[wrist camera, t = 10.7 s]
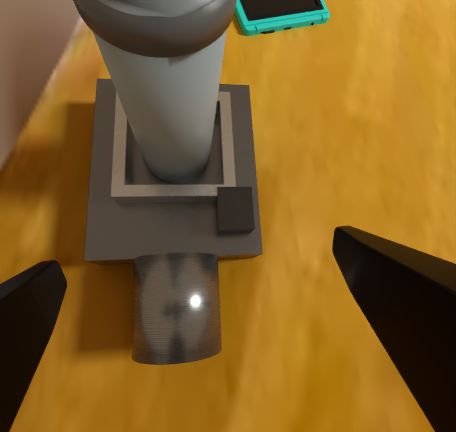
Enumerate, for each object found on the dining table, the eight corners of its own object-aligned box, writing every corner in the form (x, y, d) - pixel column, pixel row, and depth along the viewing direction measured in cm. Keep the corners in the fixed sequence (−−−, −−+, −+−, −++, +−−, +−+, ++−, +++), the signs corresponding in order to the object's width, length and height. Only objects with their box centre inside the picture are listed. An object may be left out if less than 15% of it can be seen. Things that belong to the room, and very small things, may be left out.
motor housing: (259, 336, 21) (282, 354, 16) (93, 350, 20) (56, 374, 14) (242, 107, 26) (255, 60, 21) (108, 103, 24) (84, 51, 19)
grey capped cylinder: (213, 184, 21) (247, 30, 8) (138, 185, 20) (45, 16, 7) (209, 88, 22) (231, -159, 10) (140, 86, 22) (70, -185, 9)
